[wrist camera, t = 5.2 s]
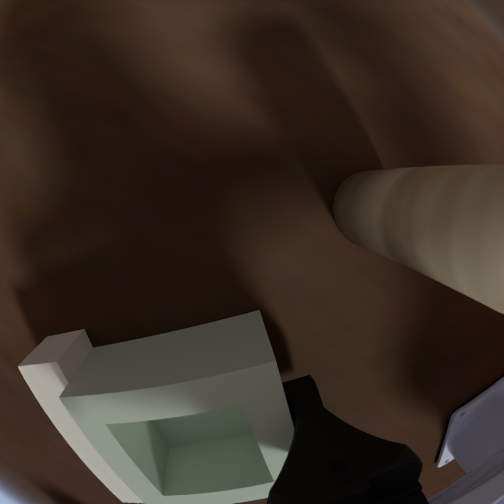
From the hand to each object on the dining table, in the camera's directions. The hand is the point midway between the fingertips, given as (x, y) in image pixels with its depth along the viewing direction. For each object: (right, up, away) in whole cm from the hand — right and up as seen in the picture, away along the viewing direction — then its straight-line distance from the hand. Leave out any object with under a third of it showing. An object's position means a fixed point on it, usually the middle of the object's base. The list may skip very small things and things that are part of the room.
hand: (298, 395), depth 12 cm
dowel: (+3, +8, 0) cm, 9 cm away
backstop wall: (-10, -2, +1) cm, 10 cm away
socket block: (-5, -1, +1) cm, 5 cm away
